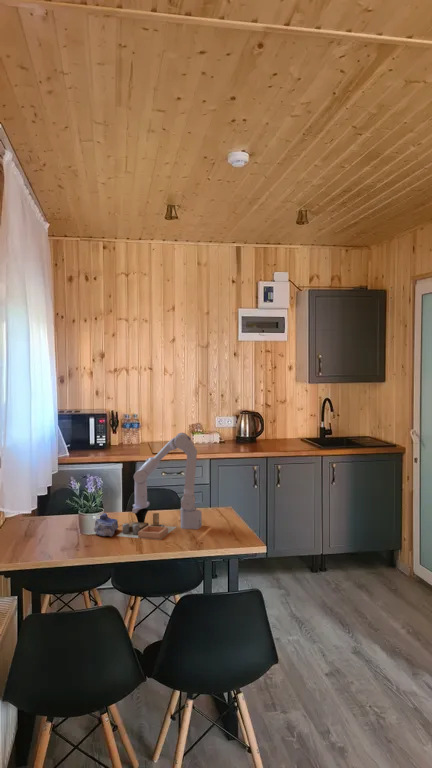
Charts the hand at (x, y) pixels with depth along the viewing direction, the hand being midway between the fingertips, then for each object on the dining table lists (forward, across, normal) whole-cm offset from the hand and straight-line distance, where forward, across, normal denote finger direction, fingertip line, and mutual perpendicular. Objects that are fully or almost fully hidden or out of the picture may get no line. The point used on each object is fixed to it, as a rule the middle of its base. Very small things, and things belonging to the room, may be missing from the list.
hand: (141, 524), depth 259 cm
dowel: (+1, +1, +8) cm, 8 cm away
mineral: (+2, +13, -12) cm, 17 cm away
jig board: (+2, +6, +6) cm, 8 cm away
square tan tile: (+1, +5, 0) cm, 5 cm away
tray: (+1, +10, +10) cm, 15 cm away
